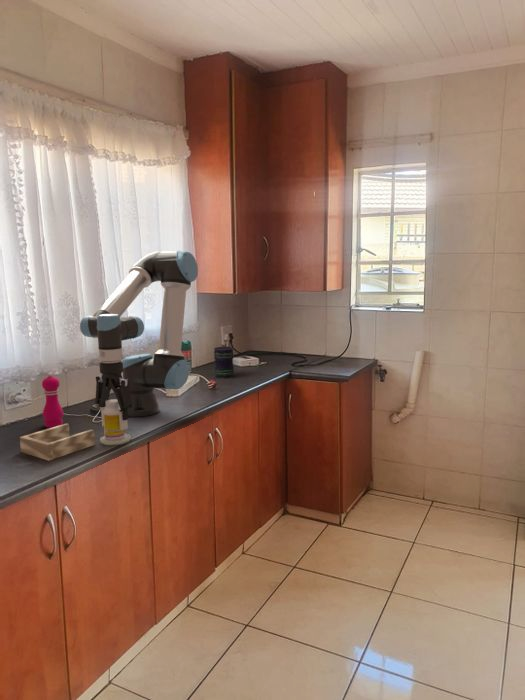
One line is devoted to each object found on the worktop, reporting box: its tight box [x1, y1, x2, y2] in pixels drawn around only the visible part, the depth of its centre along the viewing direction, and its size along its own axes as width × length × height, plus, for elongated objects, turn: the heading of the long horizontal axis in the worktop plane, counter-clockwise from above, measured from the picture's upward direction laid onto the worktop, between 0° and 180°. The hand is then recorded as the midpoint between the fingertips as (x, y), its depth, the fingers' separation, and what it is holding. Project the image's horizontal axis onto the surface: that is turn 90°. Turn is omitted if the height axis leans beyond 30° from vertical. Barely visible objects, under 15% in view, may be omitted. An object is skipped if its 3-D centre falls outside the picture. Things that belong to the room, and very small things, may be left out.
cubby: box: [19, 423, 96, 462], centre depth 181 cm, size 18×14×5 cm
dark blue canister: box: [213, 346, 234, 380], centre depth 287 cm, size 10×10×15 cm
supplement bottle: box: [103, 398, 126, 440], centre depth 187 cm, size 7×7×13 cm
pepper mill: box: [41, 372, 64, 429], centre depth 205 cm, size 7×7×20 cm
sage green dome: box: [99, 433, 132, 446], centre depth 188 cm, size 10×10×1 cm
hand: (114, 427), depth 187 cm, fingers open, 8 cm apart
